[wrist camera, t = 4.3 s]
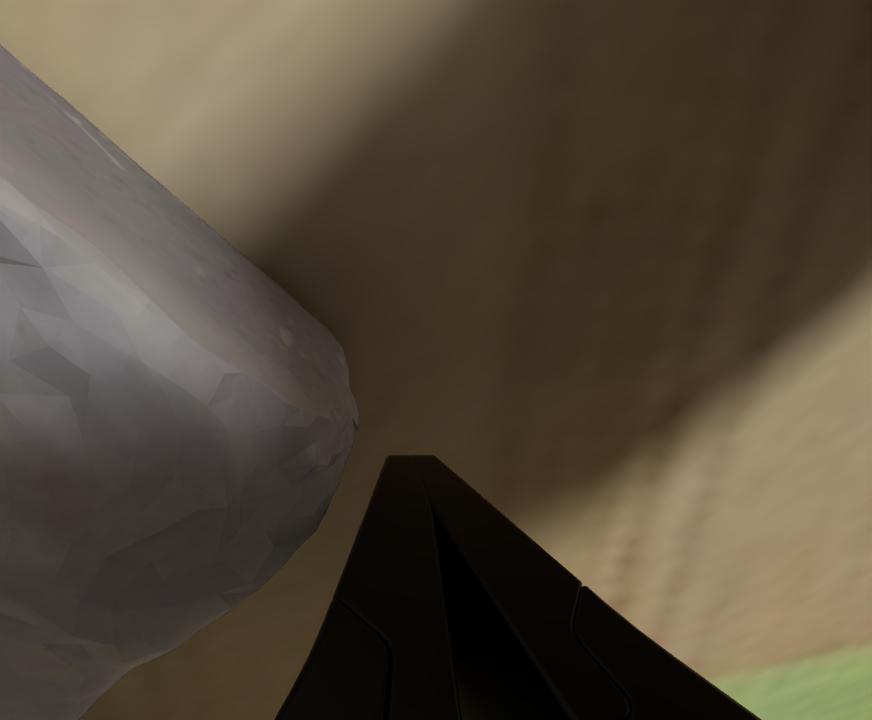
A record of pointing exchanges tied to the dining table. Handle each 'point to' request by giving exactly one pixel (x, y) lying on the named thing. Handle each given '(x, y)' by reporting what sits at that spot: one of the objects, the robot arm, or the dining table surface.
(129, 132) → the dining table surface
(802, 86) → the dining table surface
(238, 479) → the stone block
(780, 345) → the dining table surface
